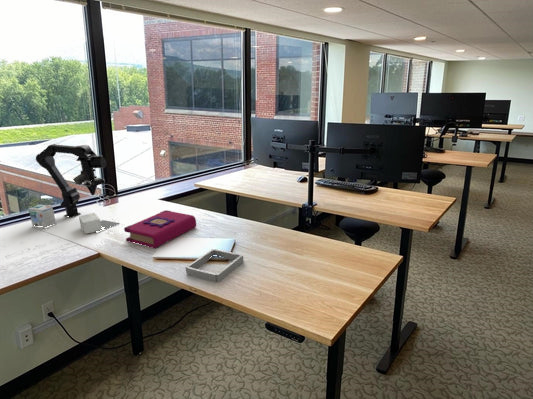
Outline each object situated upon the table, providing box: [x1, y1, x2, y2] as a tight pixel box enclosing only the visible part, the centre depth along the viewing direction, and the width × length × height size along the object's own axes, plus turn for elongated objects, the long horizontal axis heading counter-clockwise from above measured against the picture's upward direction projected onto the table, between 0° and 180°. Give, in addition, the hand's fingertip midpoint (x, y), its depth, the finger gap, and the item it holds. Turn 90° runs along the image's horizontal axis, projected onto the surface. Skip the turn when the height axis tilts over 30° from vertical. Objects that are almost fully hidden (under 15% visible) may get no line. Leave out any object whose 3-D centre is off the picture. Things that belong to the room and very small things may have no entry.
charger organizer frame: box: [185, 248, 244, 283], centre depth 154 cm, size 16×18×3 cm
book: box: [123, 209, 197, 249], centre depth 190 cm, size 21×28×8 cm
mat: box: [100, 219, 120, 230], centre depth 205 cm, size 13×14×1 cm
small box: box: [78, 212, 102, 235], centre depth 201 cm, size 8×6×13 cm
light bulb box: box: [28, 204, 57, 227], centre depth 209 cm, size 11×7×11 cm, turn 68°
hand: (93, 195), depth 218 cm, fingers closed
